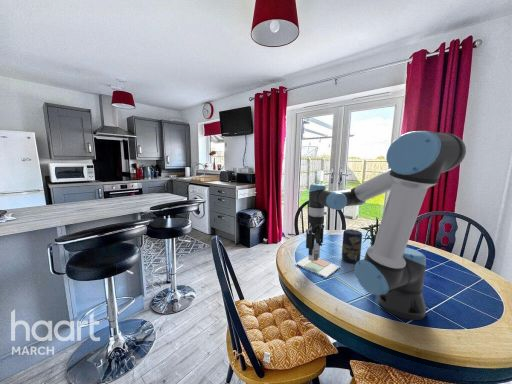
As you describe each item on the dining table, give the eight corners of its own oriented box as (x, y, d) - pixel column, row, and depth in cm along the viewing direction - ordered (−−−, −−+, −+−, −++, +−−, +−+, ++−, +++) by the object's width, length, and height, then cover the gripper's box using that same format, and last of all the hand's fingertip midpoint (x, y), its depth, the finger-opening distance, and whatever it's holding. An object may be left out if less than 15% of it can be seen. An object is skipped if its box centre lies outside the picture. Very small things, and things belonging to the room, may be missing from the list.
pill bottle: (306, 257, 109) (307, 242, 107) (314, 256, 110) (315, 241, 109) (312, 261, 104) (313, 246, 103) (320, 260, 106) (321, 245, 105)
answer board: (339, 268, 108) (340, 266, 108) (326, 278, 99) (326, 276, 99) (310, 256, 121) (310, 254, 121) (295, 264, 112) (295, 262, 112)
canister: (342, 263, 114) (344, 231, 111) (340, 255, 123) (342, 226, 120) (361, 265, 111) (364, 233, 109) (357, 257, 121) (360, 227, 118)
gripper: (318, 210, 112) (316, 251, 116) (299, 216, 100) (297, 261, 104) (331, 213, 107) (329, 255, 110) (312, 220, 95) (310, 267, 99)
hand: (313, 258), depth 107 cm, fingers closed on pill bottle, 5 cm apart
